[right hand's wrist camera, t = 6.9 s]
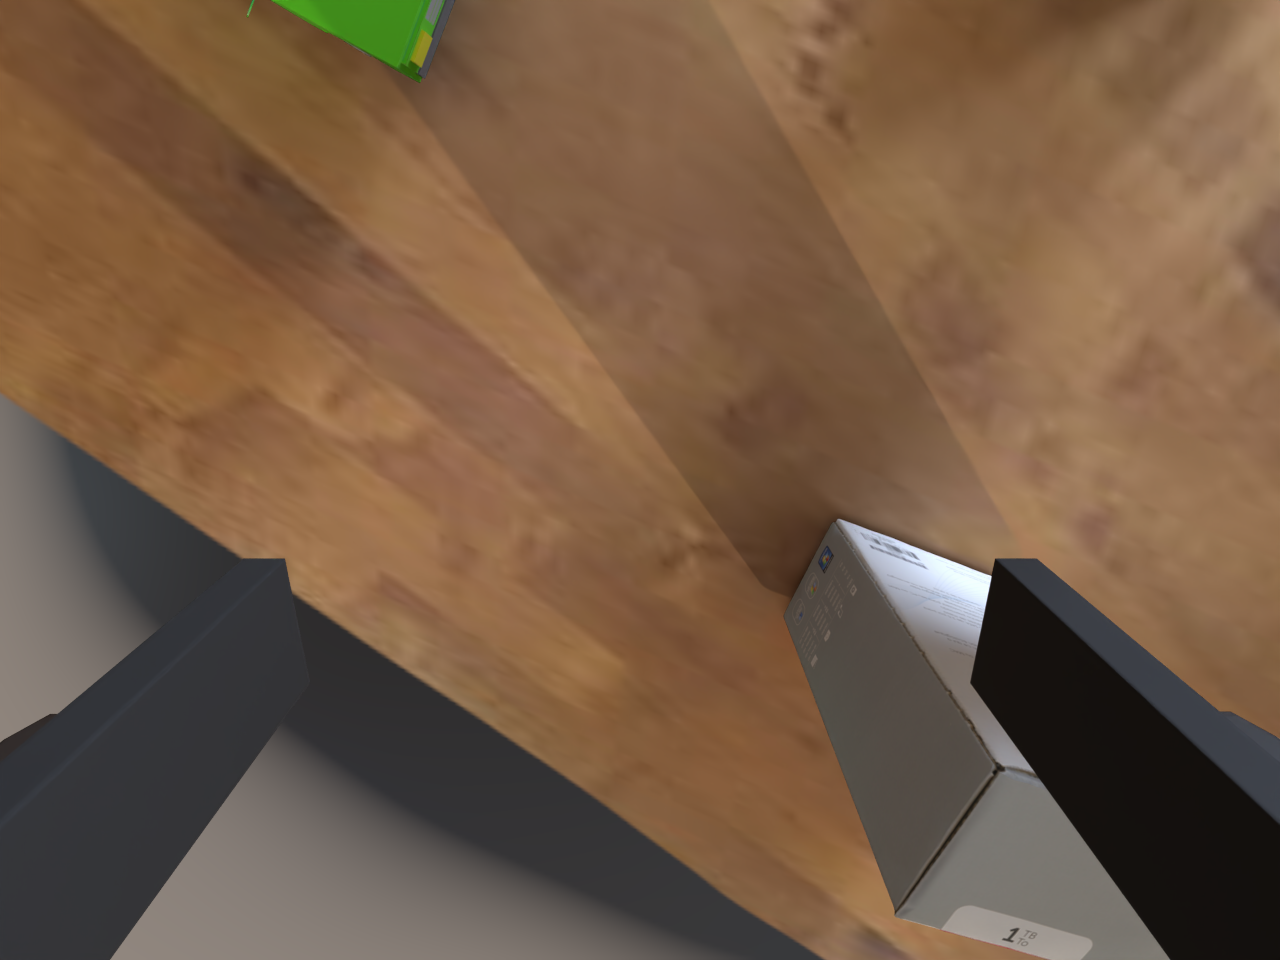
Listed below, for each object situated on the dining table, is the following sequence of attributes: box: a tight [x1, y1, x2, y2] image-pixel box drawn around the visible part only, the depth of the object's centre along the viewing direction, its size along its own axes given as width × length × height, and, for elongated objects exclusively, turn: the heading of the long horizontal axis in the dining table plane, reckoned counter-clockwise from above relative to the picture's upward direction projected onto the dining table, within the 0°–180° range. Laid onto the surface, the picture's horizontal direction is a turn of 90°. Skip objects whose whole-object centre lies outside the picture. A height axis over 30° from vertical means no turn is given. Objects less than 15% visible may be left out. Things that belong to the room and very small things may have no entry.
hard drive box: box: [784, 519, 1170, 960], centre depth 33 cm, size 16×8×20 cm, turn 69°
